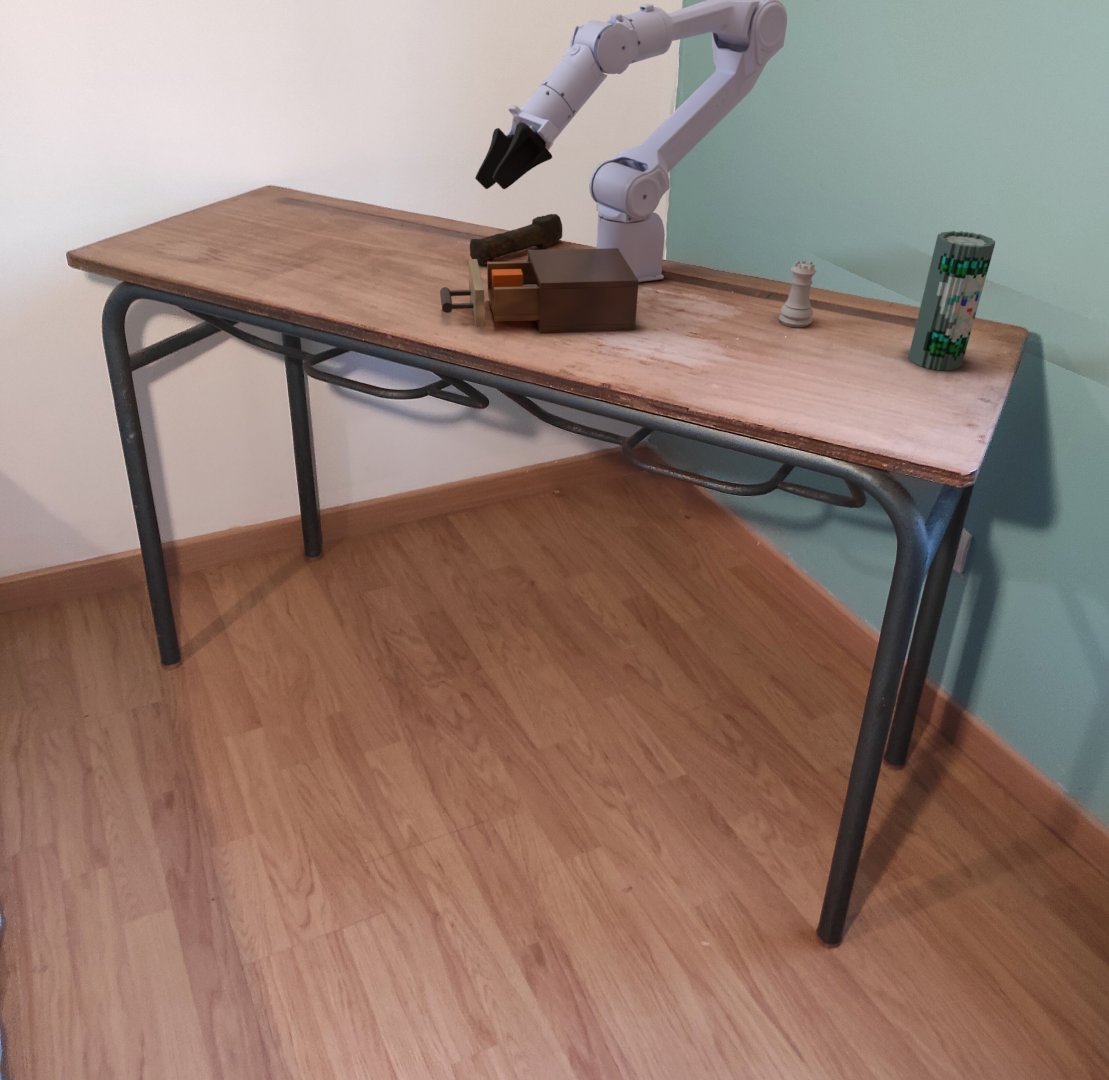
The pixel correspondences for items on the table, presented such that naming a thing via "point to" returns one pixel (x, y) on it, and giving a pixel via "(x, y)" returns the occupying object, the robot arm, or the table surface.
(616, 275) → the cabinet
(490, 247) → the hand tool
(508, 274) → the block
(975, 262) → the can
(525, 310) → the drawer
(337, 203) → the table surface
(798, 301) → the rook chess piece
